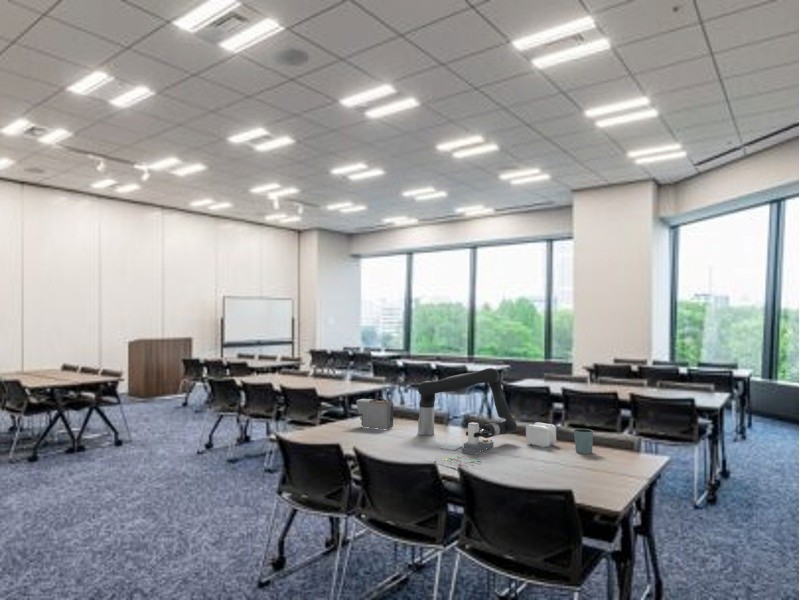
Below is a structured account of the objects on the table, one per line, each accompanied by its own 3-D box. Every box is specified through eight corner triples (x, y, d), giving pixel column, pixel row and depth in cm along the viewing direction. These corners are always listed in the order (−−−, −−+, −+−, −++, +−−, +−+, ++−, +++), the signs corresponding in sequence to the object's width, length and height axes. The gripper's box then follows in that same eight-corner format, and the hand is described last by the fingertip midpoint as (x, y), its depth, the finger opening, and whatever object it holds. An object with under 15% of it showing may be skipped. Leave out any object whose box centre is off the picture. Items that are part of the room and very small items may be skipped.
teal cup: (593, 455, 291) (593, 432, 292) (573, 453, 295) (573, 431, 295) (593, 450, 301) (593, 429, 301) (574, 449, 304) (574, 427, 305)
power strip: (462, 452, 296) (462, 444, 297) (485, 442, 322) (485, 434, 322) (475, 454, 292) (475, 446, 292) (497, 443, 317) (497, 436, 317)
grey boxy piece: (363, 424, 373) (363, 380, 374) (394, 427, 364) (395, 382, 365) (354, 427, 362) (355, 382, 363) (387, 430, 353) (387, 384, 354)
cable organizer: (557, 445, 313) (557, 425, 314) (547, 448, 306) (547, 427, 306) (535, 441, 324) (535, 421, 325) (525, 444, 317) (525, 424, 317)
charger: (468, 446, 299) (467, 423, 299) (471, 445, 303) (471, 422, 303) (475, 448, 296) (475, 424, 297) (479, 446, 300) (478, 423, 300)
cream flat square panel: (423, 460, 282) (423, 457, 282) (464, 452, 300) (464, 449, 300) (464, 473, 258) (464, 470, 258) (506, 464, 276) (506, 461, 276)
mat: (440, 448, 306) (440, 447, 306) (447, 445, 313) (447, 444, 313) (454, 450, 301) (454, 449, 301) (461, 447, 308) (461, 446, 308)
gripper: (480, 421, 315) (460, 425, 303) (500, 425, 304) (480, 429, 293) (480, 434, 314) (460, 439, 303) (500, 439, 304) (480, 443, 292)
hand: (470, 434), depth 298 cm, fingers closed on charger, 5 cm apart
